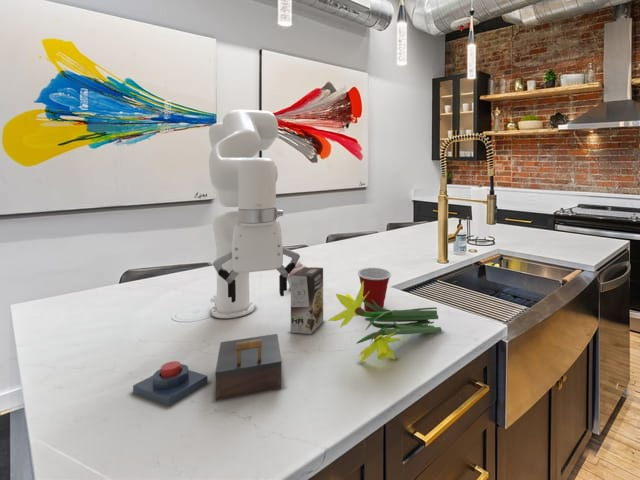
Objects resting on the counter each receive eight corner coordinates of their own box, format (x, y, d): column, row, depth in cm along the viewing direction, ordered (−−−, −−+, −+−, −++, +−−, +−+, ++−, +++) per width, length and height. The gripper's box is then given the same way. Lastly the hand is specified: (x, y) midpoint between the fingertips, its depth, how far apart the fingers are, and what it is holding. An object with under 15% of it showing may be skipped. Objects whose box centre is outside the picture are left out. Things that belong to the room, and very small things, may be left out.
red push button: (157, 375, 85) (157, 367, 85) (173, 367, 88) (173, 359, 88) (168, 379, 83) (168, 371, 83) (184, 371, 86) (184, 363, 86)
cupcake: (308, 293, 145) (308, 265, 145) (282, 293, 145) (282, 265, 145) (314, 284, 154) (314, 258, 154) (290, 284, 155) (290, 258, 154)
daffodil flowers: (464, 344, 107) (370, 355, 82) (423, 360, 114) (324, 374, 89) (445, 282, 116) (355, 275, 91) (408, 300, 123) (314, 297, 98)
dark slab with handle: (281, 367, 85) (281, 340, 85) (215, 378, 80) (215, 350, 80) (277, 338, 98) (277, 315, 98) (220, 347, 94) (220, 323, 94)
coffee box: (311, 334, 111) (311, 276, 111) (289, 332, 112) (289, 274, 112) (324, 321, 120) (324, 267, 120) (304, 319, 121) (303, 266, 121)
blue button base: (132, 393, 84) (132, 376, 84) (173, 372, 92) (173, 357, 92) (168, 407, 79) (168, 389, 79) (207, 383, 87) (207, 367, 87)
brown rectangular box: (281, 388, 85) (281, 365, 85) (215, 401, 81) (215, 377, 81) (277, 358, 98) (277, 338, 98) (220, 368, 94) (220, 347, 94)
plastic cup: (378, 318, 122) (378, 278, 122) (350, 311, 128) (350, 273, 128) (398, 307, 131) (398, 270, 131) (371, 300, 137) (370, 265, 137)
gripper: (297, 212, 92) (297, 287, 92) (214, 216, 86) (214, 296, 86) (301, 216, 85) (302, 297, 85) (211, 221, 79) (211, 309, 79)
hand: (258, 297), depth 86 cm, fingers open, 9 cm apart
